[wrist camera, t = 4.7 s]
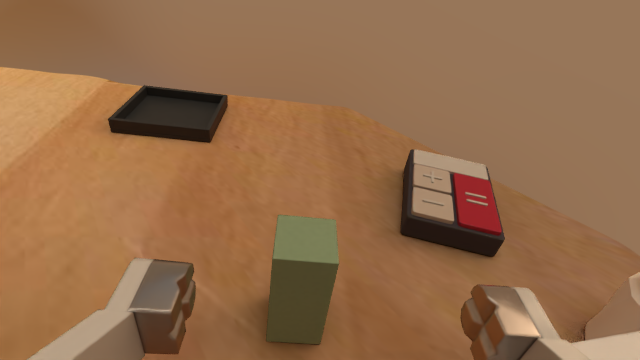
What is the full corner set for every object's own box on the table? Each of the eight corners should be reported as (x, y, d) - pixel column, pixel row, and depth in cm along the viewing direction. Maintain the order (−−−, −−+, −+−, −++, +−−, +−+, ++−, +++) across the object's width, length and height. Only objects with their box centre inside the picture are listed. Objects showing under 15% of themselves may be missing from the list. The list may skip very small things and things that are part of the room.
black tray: (110, 132, 53) (107, 119, 51) (145, 96, 63) (143, 85, 62) (210, 142, 54) (209, 130, 53) (227, 106, 65) (227, 95, 63)
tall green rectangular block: (265, 341, 30) (272, 258, 24) (271, 295, 33) (278, 214, 28) (320, 344, 30) (339, 263, 24) (319, 299, 34) (335, 219, 28)
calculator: (408, 211, 40) (411, 143, 52) (398, 238, 43) (404, 167, 55) (509, 236, 39) (489, 161, 51) (492, 261, 42) (477, 184, 54)
